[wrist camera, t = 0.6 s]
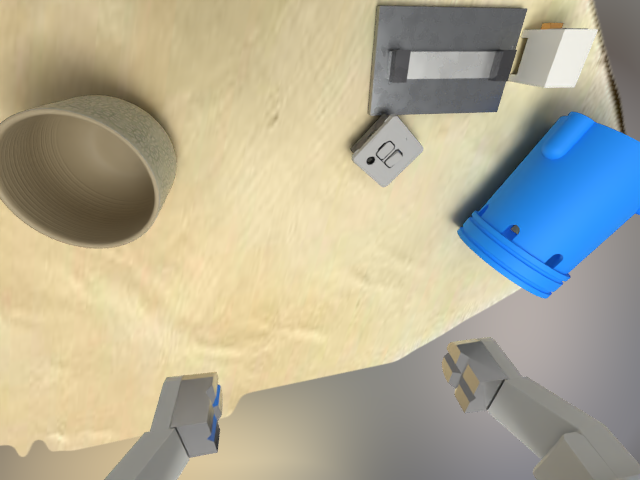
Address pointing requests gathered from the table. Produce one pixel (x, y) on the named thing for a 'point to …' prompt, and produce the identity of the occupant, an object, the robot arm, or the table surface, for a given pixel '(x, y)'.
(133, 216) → the planter
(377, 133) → the electrical switch
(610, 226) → the tube
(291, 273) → the table surface
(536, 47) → the din module
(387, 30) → the din board
